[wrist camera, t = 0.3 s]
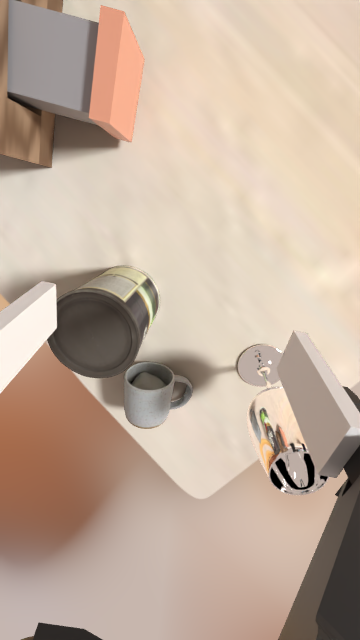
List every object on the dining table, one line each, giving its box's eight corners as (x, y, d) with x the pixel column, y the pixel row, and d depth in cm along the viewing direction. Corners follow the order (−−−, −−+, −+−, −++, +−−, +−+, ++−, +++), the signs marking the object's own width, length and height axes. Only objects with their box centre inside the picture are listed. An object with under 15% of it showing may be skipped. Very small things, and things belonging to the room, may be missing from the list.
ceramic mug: (130, 399, 50) (117, 431, 43) (131, 358, 47) (118, 385, 40) (190, 406, 50) (187, 440, 42) (195, 366, 47) (193, 394, 39)
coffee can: (174, 299, 43) (159, 339, 29) (130, 341, 46) (98, 394, 33) (123, 249, 41) (83, 268, 27) (80, 297, 44) (26, 334, 31)
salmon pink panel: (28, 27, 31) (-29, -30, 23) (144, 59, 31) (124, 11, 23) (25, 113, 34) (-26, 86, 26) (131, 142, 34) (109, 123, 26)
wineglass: (226, 366, 46) (238, 473, 27) (262, 333, 43) (302, 427, 25) (261, 394, 47) (295, 515, 28) (298, 364, 44) (362, 475, 26)
